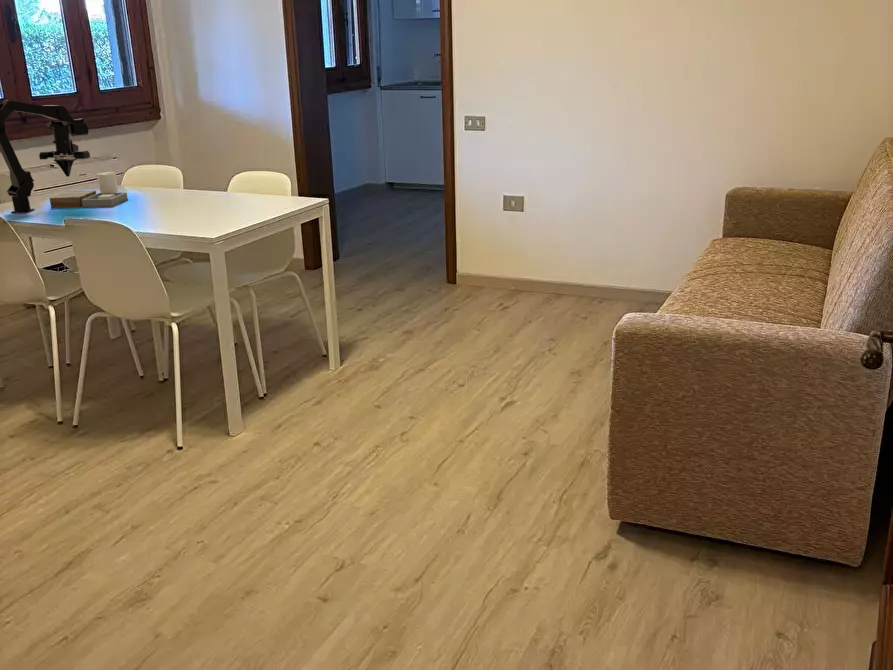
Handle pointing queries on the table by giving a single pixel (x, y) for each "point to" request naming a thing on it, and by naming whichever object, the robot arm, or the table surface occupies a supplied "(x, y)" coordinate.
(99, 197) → the tile
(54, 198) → the plate
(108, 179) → the white cup
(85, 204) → the box
